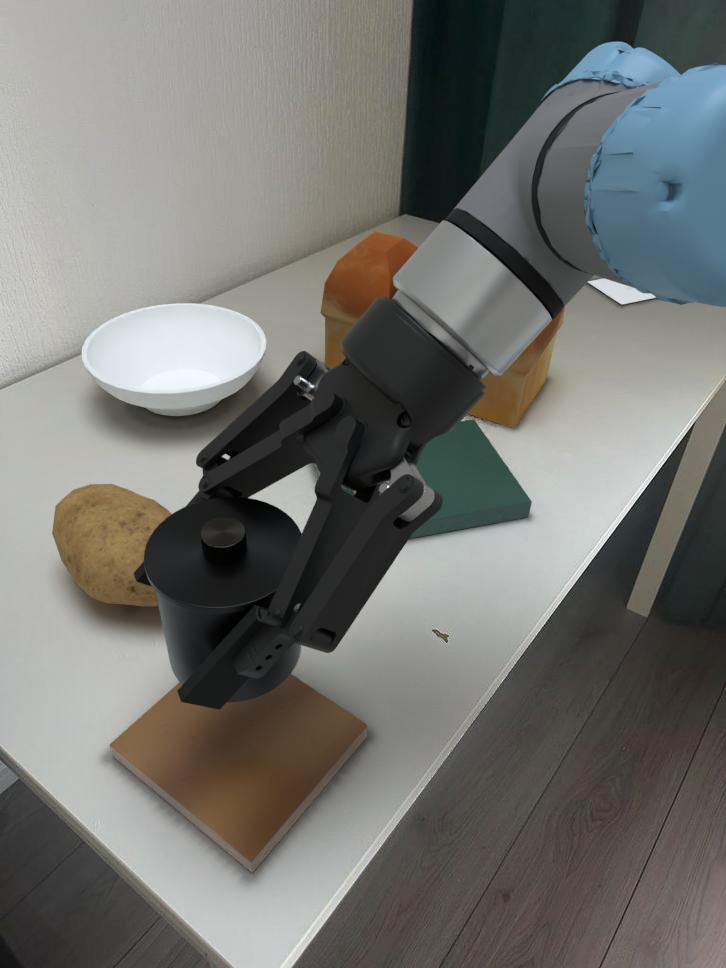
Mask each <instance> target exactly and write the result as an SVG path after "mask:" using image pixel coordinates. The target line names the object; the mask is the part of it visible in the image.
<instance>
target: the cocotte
mask: <svg viewBox="0 0 726 968" xmlns="http://www.w3.org/2000/svg"><path fill="white" fill-rule="evenodd" d="M171 514H172V515H170V516H169V517H167V518H166V519H165V520H164V521H163V522H161V523H160V524H159V525H158V527H157V528H156V529H155V530H154V531H153V533H152V534H151V536H150V538H149V540H148V542H147V544H146V548H145V551H144V566H145V571H146V574H147V578H148V580H149V582H150V584H151V585H152V587H153V588H154V589H155V591H156V596H157V601H158V606H157V607H158V610H159V615H160V620H161V621H160V622H161V625H162V630H163V634H164V635H163V636H164V639H165V645H166V649H167V654H168V660H169V664H170V668H171V671H172V672H173V675H174V677H175V678H176V680H177V681H178V683H179V682H180V683H181V684H182V685H183V684H184V683H185V682H186V681H187V679H188V678H189V677H190V676H191V675H192V674H193V673H194V672H195V671H196V669H197V668H198V667H199V666H200V665H201V664H202V663H203V662H204V661H205V659H206V658H207V657H208V656H209V655H210V654H211V653H212V652H213V651H214V649H215V648H216V647H217V646H218V645H219V644H220V643H221V642H222V641H223V639H224V638H225V637H226V636H227V635H228V634H229V633H230V632H231V631H232V629H233V628H234V627H235V626H236V625H237V624H238V623H239V622H240V621H241V619H242V618H243V617H244V616H245V615H246V614H247V613H248V612H249V611H250V609H251V608H252V607H253V606H254V605H258V606H261V607H264V608H267V609H268V608H269V606H270V604H271V601H272V599H273V597H274V595H275V592H276V590H277V588H278V586H279V583H280V581H281V579H282V577H283V574H284V572H285V570H286V568H287V565H288V563H289V561H290V559H291V556H292V554H293V552H294V550H295V547H296V545H297V543H298V541H299V538H300V536H301V534H302V531H301V529H300V527H299V526H298V524H297V523H296V521H294V519H293V518H292V517H291V516H290V515H288V514H287V512H285V511H284V510H283V509H281V508H279V507H277V506H275V505H273V504H271V503H269V502H267V501H263V500H259V499H255V498H251V497H248V498H244V497H219V498H213V499H208V500H203V501H199V502H196V503H194V504H191V505H188V506H186V505H185V506H183V507H182V508H180V509H178V510H176V511H175V512H173V513H171ZM299 606H300V604H297V605H296V606H295V607H294V608H296V609H298V608H299ZM301 652H302V645H300V644H297V643H294V644H293V645H292V646H291V647H290V648H289V649H288V650H287V651H286V652H285V653H284V654H283V656H282V657H281V658H280V659H279V660H278V661H276V663H275V664H274V665H273V666H272V667H271V668H270V670H269V671H268V672H267V673H266V674H265V675H264V676H262V677H259V678H257V679H256V678H252V677H250V678H249V679H248V680H247V681H246V682H245V683H244V684H243V685H242V686H241V687H240V688H239V689H238V691H237V692H236V693H235V694H234V695H233V696H232V697H231V698H230V699H229V700H228V701H227V702H240V701H246V700H250V699H254V698H257V697H259V696H262V695H264V694H266V693H268V692H270V691H272V690H273V689H275V688H276V687H278V686H279V685H280V684H281V683H283V682H284V681H285V680H286V679H287V678H288V676H289V675H290V674H292V673H293V671H294V670H295V668H296V666H297V664H298V662H299V659H300V657H301Z"/></svg>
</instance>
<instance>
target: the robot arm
mask: <svg viewBox="0 0 726 968" xmlns="http://www.w3.org/2000/svg"><path fill="white" fill-rule="evenodd" d="M594 276H596V277H598V278H600V279H603V278H605V279H608V280H611V281H614V282H617V283H620V284H623V285H627V286H630V287H633V288H636V289H637V290H638V291H640V292H642V293H648V294H653V295H654V296H655V297H656V298H655V299H658V300H659V301H663V302H665V303H666V302H667V303H672V304H676V305H680V306H683V305H687V304H693V303H696V304H702V305H707V306H713V307H720V308H726V64H721V63H718V62H713V63H711V64H706V65H702V66H696V67H693V68H689V69H687V70H686V71H685V72H683V73H682V74H681V73H679V71H678V70H677V69H676V68H675V67H673V66H672V65H671V64H670V63H669V62H668V61H666V60H665V59H663V57H661V56H659V55H658V54H656V53H654V52H653V51H651V50H649V49H647V48H645V47H635V48H634V47H632V46H631V45H630V44H628V43H627V42H624V41H610V42H604V43H602V44H599V45H597V46H596V47H594V48H593V49H591V50H590V51H589V52H587V54H586V55H585V56H584V57H583V58H582V59H581V60H580V61H579V63H577V64H576V66H575V67H574V68H573V69H572V70H571V71H570V72H569V73H568V74H567V75H566V77H565V78H564V79H563V80H562V81H560V82H559V83H558V84H557V83H555V84H554V85H553V86H551V87H550V88H549V90H548V91H547V92H546V93H545V94H544V96H542V98H541V99H540V103H539V105H538V106H537V108H536V109H535V111H534V112H533V114H531V116H530V117H529V118H528V119H527V121H526V122H525V123H524V125H523V126H522V127H521V128H520V129H519V130H518V131H517V133H516V134H515V135H514V136H513V138H512V139H511V140H510V141H509V142H508V143H507V145H505V147H504V148H503V150H502V151H501V152H500V153H499V154H498V156H497V157H496V158H495V159H494V160H493V162H492V163H491V164H490V165H489V166H488V168H487V169H486V170H485V171H484V172H483V174H482V175H481V176H480V177H479V178H478V179H477V181H476V182H475V183H474V184H473V186H471V188H470V189H469V190H468V191H467V193H466V194H465V195H464V196H463V197H462V198H461V199H460V201H459V202H458V203H457V205H456V206H455V207H454V208H453V209H452V210H451V212H450V213H449V214H448V215H447V216H446V218H444V220H441V222H439V224H437V226H436V227H435V229H434V230H433V231H431V233H430V234H429V235H428V236H427V238H426V239H425V240H424V241H423V242H422V243H421V244H420V245H419V247H418V249H417V250H416V251H415V253H414V254H413V255H412V256H411V257H410V258H409V259H408V261H407V262H406V263H405V264H404V265H403V266H402V267H401V269H400V270H399V271H398V272H397V273H396V274H395V275H394V277H393V285H394V286H395V287H396V288H397V289H398V291H397V292H396V294H395V295H394V297H393V298H392V301H391V300H390V299H389V298H388V297H387V296H386V295H384V296H383V297H382V299H380V298H379V297H377V299H376V300H375V301H374V302H373V303H372V304H371V306H370V307H369V308H368V309H367V310H366V311H365V313H364V314H363V315H362V316H361V317H360V318H359V320H358V321H357V322H356V323H355V324H354V325H353V327H352V328H351V329H350V330H349V331H348V332H347V334H346V335H345V336H344V337H343V339H342V341H341V350H342V352H343V354H344V355H345V357H346V358H345V359H344V361H343V362H341V363H340V364H339V365H337V366H336V367H334V368H332V369H330V368H328V367H327V366H326V365H325V363H323V362H322V361H320V360H319V359H318V358H317V357H315V356H313V355H312V354H310V353H309V352H308V351H306V350H300V351H299V352H298V353H297V354H296V355H294V357H293V359H292V361H291V362H290V363H289V365H288V366H287V368H285V370H284V371H283V373H282V375H281V376H280V377H279V379H278V380H277V381H276V382H274V384H272V385H271V386H270V387H269V388H268V389H267V390H266V391H265V392H264V393H262V394H261V395H260V396H259V397H258V398H257V399H256V400H255V401H254V402H252V403H251V405H250V406H248V407H247V408H246V409H245V410H244V411H242V413H241V414H239V416H237V417H236V418H235V419H234V420H233V421H232V422H231V423H229V425H227V427H226V428H224V429H223V430H222V431H221V432H220V433H219V434H218V435H216V436H215V437H214V438H213V439H212V440H211V441H210V442H209V443H208V444H206V445H205V446H204V447H203V448H202V449H201V450H200V451H199V452H198V454H197V455H196V459H195V465H196V466H197V467H198V468H201V469H202V477H201V478H200V479H199V482H198V485H197V488H198V491H197V493H195V495H194V496H193V497H192V499H191V500H189V501H188V503H187V504H186V505H185V507H186V506H188V505H191V504H194V503H196V502H199V501H203V500H208V499H213V498H219V497H244V498H251V497H252V496H254V495H255V494H257V493H259V492H261V491H263V490H265V489H266V488H268V487H270V486H272V485H274V484H276V483H278V482H279V481H281V480H283V479H285V478H286V477H288V476H290V475H292V474H294V473H295V472H297V471H299V470H300V469H303V468H305V467H306V466H308V465H310V464H313V465H314V464H317V468H318V470H319V471H320V476H319V475H318V477H317V481H316V483H315V485H314V494H315V497H316V500H315V503H314V505H313V507H312V509H311V512H310V513H309V516H308V518H307V519H306V520H307V521H306V523H305V525H304V527H303V529H302V531H301V536H300V538H299V541H298V543H297V545H296V547H295V550H294V552H293V554H292V556H291V559H290V561H289V563H288V565H287V568H286V570H285V572H284V574H283V577H282V579H281V581H280V583H279V586H278V588H277V590H276V592H275V595H274V597H273V599H272V601H271V604H270V606H269V608H268V609H267V608H264V607H261V606H258V605H254V606H253V607H252V608H251V609H250V611H249V612H248V613H247V614H246V615H245V616H244V617H243V618H242V619H241V621H240V622H239V623H238V624H237V625H236V626H235V627H234V628H233V629H232V631H231V632H230V633H229V634H228V635H227V636H226V637H225V638H224V639H223V641H222V642H221V643H220V644H219V645H218V646H217V647H216V648H215V649H214V651H213V652H212V653H211V654H210V655H209V656H208V657H207V658H206V659H205V661H204V662H203V663H202V664H201V665H200V666H199V667H198V668H197V669H196V671H195V672H194V673H193V674H192V675H191V676H190V677H189V678H188V679H187V681H186V682H185V683H184V684H183V685H182V686H181V687H180V688H179V689H178V691H177V692H178V694H179V697H180V700H181V702H184V703H189V704H194V705H199V706H204V707H208V708H213V709H218V710H220V709H221V708H222V707H223V706H224V705H225V704H226V702H227V701H228V700H229V699H230V698H231V697H232V696H233V695H234V694H235V693H236V692H237V691H238V689H239V688H240V687H241V686H242V685H243V684H244V683H245V682H246V681H247V680H248V679H249V678H250V677H252V678H256V679H257V678H259V677H262V676H264V675H265V674H266V673H267V672H268V671H269V670H270V668H271V667H272V666H273V665H274V664H275V663H276V661H278V660H279V659H280V658H281V657H282V656H283V654H284V653H285V652H286V651H287V650H288V649H289V648H290V647H291V646H292V645H293V644H294V643H297V644H300V645H301V646H303V647H306V648H309V649H312V650H315V651H319V652H322V653H326V654H330V653H332V652H334V651H335V650H336V649H337V647H339V646H338V645H339V644H340V643H341V642H342V640H343V638H344V637H345V635H346V634H347V632H348V631H349V629H350V628H351V626H352V625H353V623H354V622H355V621H356V619H357V617H358V616H359V614H360V613H361V611H362V610H363V609H364V607H365V606H366V604H367V603H368V601H369V600H370V598H371V596H372V595H373V594H374V592H375V590H376V589H377V587H378V586H379V584H380V583H381V581H382V580H383V579H384V577H385V575H386V574H387V572H388V571H389V569H390V568H391V567H392V565H393V563H394V562H395V560H396V559H397V557H398V556H399V555H400V553H401V551H402V550H403V548H404V547H405V545H406V544H407V542H408V541H409V538H410V536H411V535H412V533H413V532H415V531H416V530H417V529H418V528H419V527H421V526H422V525H423V524H424V523H425V522H426V521H428V520H429V519H430V518H431V517H432V516H433V515H435V514H436V513H437V512H438V511H439V510H440V509H441V507H442V504H443V498H442V495H441V494H440V493H438V492H437V491H435V490H434V489H432V488H430V487H429V486H427V485H426V483H425V481H424V480H423V478H422V476H421V474H420V473H419V471H418V469H417V468H416V466H417V464H418V462H419V459H420V456H421V454H422V452H423V450H424V448H425V446H426V445H427V443H428V442H429V441H431V440H432V439H434V438H436V437H439V436H445V435H447V434H449V433H450V432H451V431H452V430H453V429H454V428H455V427H456V426H457V425H458V423H459V422H460V421H463V420H464V418H465V417H466V416H467V415H469V414H468V412H469V411H470V410H471V409H472V408H473V407H474V406H475V405H476V404H477V403H478V402H479V400H480V399H481V398H482V397H483V396H484V395H485V393H484V392H483V390H484V389H485V388H486V385H485V384H484V383H482V382H481V381H480V380H479V379H483V378H484V377H485V376H486V375H487V374H488V373H489V372H490V373H491V374H492V375H494V376H500V375H502V374H503V373H504V372H505V371H506V370H507V369H508V368H509V366H510V365H511V364H512V363H513V362H514V361H515V360H516V359H517V358H518V357H519V356H520V354H521V353H522V352H523V351H524V350H525V349H526V348H527V347H528V346H529V345H530V344H531V342H532V341H533V340H534V339H535V338H536V337H537V336H538V335H539V334H540V333H541V332H542V330H543V329H544V328H545V327H546V326H547V325H548V324H549V323H550V322H551V320H552V319H554V318H555V317H556V316H557V315H558V314H559V313H560V312H561V311H562V309H563V308H564V307H565V308H566V306H567V305H568V303H569V302H571V300H572V299H574V297H575V296H577V294H578V293H579V292H580V291H581V290H582V289H583V288H584V286H586V284H587V283H588V281H591V279H592V278H593V277H594ZM224 455H227V456H229V458H228V459H227V458H225V457H223V456H224ZM388 481H389V483H385V482H388ZM342 488H343V489H345V490H347V491H349V490H350V491H356V493H355V495H354V496H353V495H351V494H349V493H347V492H345V491H344V490H343V489H342ZM380 493H381V495H380ZM379 495H380V496H379ZM134 576H135V579H136V582H139V583H142V584H145V585H148V586H151V587H152V585H151V584H150V582H149V580H148V578H147V574H146V571H145V566H144V561H143V563H142V564H141V565H140V566H139V567H138V569H137V570H136V571H135V572H134ZM297 604H300V606H299V608H298V609H296V608H294V607H295V606H296V605H297Z"/></svg>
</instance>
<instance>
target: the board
mask: <svg viewBox="0 0 726 968" xmlns="http://www.w3.org/2000/svg"><path fill="white" fill-rule="evenodd" d="M181 686H182V684H181V683H180V682H179V681H178V683H177V684H176V685H175V686H174V687H172V689H170V690H169V691H168V692H166V694H164V696H163V697H161V698H159V700H158V701H157V702H156V703H154V704H153V705H152V706H151V707H150V708H149V709H148V710H146V711H145V712H144V713H143V714H142V715H141V716H140V717H138V718H137V719H136V720H135V721H134V722H133V723H132V724H131V725H130V726H129V727H127V728H125V730H124V731H123V732H121V734H119V735H118V736H117V737H116V738H115V739H114V740H112V742H110V743H109V748H110V751H111V754H112V757H113V758H114V759H115V760H117V762H119V763H120V764H121V765H122V766H123V767H125V768H126V769H127V770H129V771H130V772H131V773H132V774H133V775H134V776H136V778H138V779H139V780H140V781H141V782H142V783H144V784H145V785H146V786H147V787H149V788H150V789H151V790H152V791H153V792H155V793H156V794H157V795H158V796H160V798H161V799H163V800H164V801H165V802H166V803H167V804H169V805H170V806H171V807H173V808H174V809H175V811H177V812H178V813H179V814H181V815H182V816H183V817H184V818H186V819H187V820H188V821H189V822H190V823H191V824H192V825H194V826H195V827H196V828H197V829H199V831H201V832H202V833H203V834H204V835H206V836H207V837H208V838H210V839H211V840H212V841H213V842H214V843H215V844H216V845H218V846H219V847H220V848H221V849H223V850H224V851H225V852H226V853H227V854H229V856H231V857H232V858H233V859H234V860H236V861H237V863H240V865H242V866H243V868H245V869H246V870H248V871H249V872H250V873H251V874H254V873H255V871H256V870H257V869H258V868H259V866H260V865H261V864H262V863H263V861H264V860H265V859H266V858H267V857H268V856H269V854H270V853H271V852H272V851H273V850H274V848H275V847H276V846H277V845H278V844H279V842H280V841H281V840H282V839H283V838H284V837H285V835H286V834H287V833H288V832H289V830H290V829H291V828H293V826H294V825H295V823H296V822H297V821H298V820H299V818H300V817H301V816H302V815H303V814H304V813H305V812H306V810H307V809H308V808H310V805H311V804H313V802H314V801H315V800H316V799H317V797H318V796H319V795H320V794H321V792H322V791H323V790H324V789H325V788H326V786H328V784H329V783H330V782H331V781H332V779H333V778H334V777H335V776H336V774H337V773H338V772H339V771H340V770H341V769H342V767H343V766H344V765H345V764H346V763H347V761H348V760H349V759H350V757H352V756H353V754H354V753H355V752H356V750H357V749H358V748H359V747H360V746H361V745H362V744H363V742H364V741H366V739H367V737H368V727H369V725H368V724H367V723H366V722H364V721H362V720H361V719H360V718H358V717H357V716H355V715H353V714H352V713H351V712H349V711H348V710H346V709H345V708H344V707H342V706H341V705H339V704H338V703H336V702H334V701H333V700H332V699H330V698H328V697H327V696H325V695H324V694H322V693H321V692H319V691H318V690H316V689H315V688H314V687H312V686H310V685H309V684H308V683H306V682H304V681H303V680H302V679H300V678H298V677H297V676H295V675H294V674H292V673H291V674H290V675H289V676H288V678H287V679H286V680H285V681H284V682H283V683H281V684H280V685H279V686H278V687H276V688H275V689H273V690H272V691H270V692H268V693H266V694H264V695H262V696H259V697H257V698H254V699H250V700H246V701H240V702H226V704H225V705H224V706H223V707H222V708H221V709H220V710H218V709H213V708H208V707H204V706H199V705H194V704H189V703H184V702H181V700H180V697H179V694H178V692H177V691H178V689H179V688H180V687H181Z"/></svg>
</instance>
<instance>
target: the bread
mask: <svg viewBox="0 0 726 968" xmlns="http://www.w3.org/2000/svg"><path fill="white" fill-rule="evenodd" d="M418 248H419V247H418V246H417V245H415V244H414V243H412V242H411V241H409V240H408V239H406V238H405V237H402V236H397V235H392V234H388V233H385V232H381V231H376V230H375V231H373V232H372V233H370V235H368V236H367V237H365V238H364V239H362V240H361V241H360V242H358V243H357V244H356V245H354V246H353V247H352V248H351V249H350V250H348V251H347V252H346V253H345V254H344V255H343V256H342V257H340V258H339V259H338V260H337V261H336V263H335V265H334V266H333V268H332V270H331V272H330V273H329V275H328V277H327V278H326V280H325V282H324V287H323V293H322V298H321V300H322V301H321V307H320V315H321V316H322V317H324V365H326V366H327V367H328V368H330V369H332V368H334V367H336V366H337V365H339V364H340V363H341V362H343V361H344V359H345V358H346V357H345V355H344V354H343V352H342V350H341V341H342V339H343V337H344V336H345V335H346V334H347V332H348V331H349V330H350V329H351V328H352V327H353V325H354V324H355V323H356V322H357V321H358V320H359V318H360V317H361V316H362V315H363V314H364V313H365V311H366V310H367V309H368V308H369V307H370V306H371V304H372V303H373V302H374V301H375V300H376V299H377V297H379V298H380V299H382V297H383V296H384V295H386V296H387V297H388V298H389V299H390V300H391V301H392V298H393V297H394V295H395V294H396V292H397V291H398V289H397V288H396V287H395V286H394V285H393V277H394V275H395V274H396V273H397V272H398V271H399V270H400V269H401V267H402V266H403V265H404V264H405V263H406V262H407V261H408V259H409V258H410V257H411V256H412V255H413V254H414V253H415V251H416V250H417V249H418ZM565 312H566V306H565V307H564V308H563V309H562V311H561V312H560V313H559V314H558V315H557V316H556V317H555V318H554V319H552V320H551V322H550V323H549V324H548V325H547V326H546V327H545V328H544V329H543V330H542V332H541V333H540V334H539V335H538V336H537V337H536V338H535V339H534V340H533V341H532V342H531V344H530V345H529V346H528V347H527V348H526V349H525V350H524V351H523V352H522V353H521V354H520V356H519V357H518V358H517V359H516V360H515V361H514V362H513V363H512V364H511V365H510V366H509V368H508V369H507V370H506V371H505V372H504V373H503V374H502V375H500V376H494V375H492V374H491V373H490V372H489V373H488V374H487V375H486V376H485V377H484V378H483V379H479V380H480V381H481V382H482V383H484V384H485V385H486V388H485V389H484V390H483V392H484V393H485V395H484V396H483V397H482V398H481V399H480V400H479V402H478V403H477V404H476V405H475V406H474V407H473V408H472V409H471V410H470V411H469V412H468V414H467V415H470V416H473V417H476V418H479V419H483V420H485V421H489V422H492V423H496V424H499V425H502V426H505V427H509V428H511V429H515V428H516V427H517V425H518V424H519V422H520V421H521V419H522V418H523V416H524V415H525V413H526V412H527V411H528V409H529V407H530V405H531V404H532V402H533V401H534V400H535V398H536V396H537V394H539V392H540V390H541V389H542V387H543V386H544V384H545V382H547V378H548V373H549V368H550V365H551V360H552V355H553V350H554V347H555V342H556V337H557V332H559V330H560V328H561V327H562V326H563V324H564V319H565Z"/></svg>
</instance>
